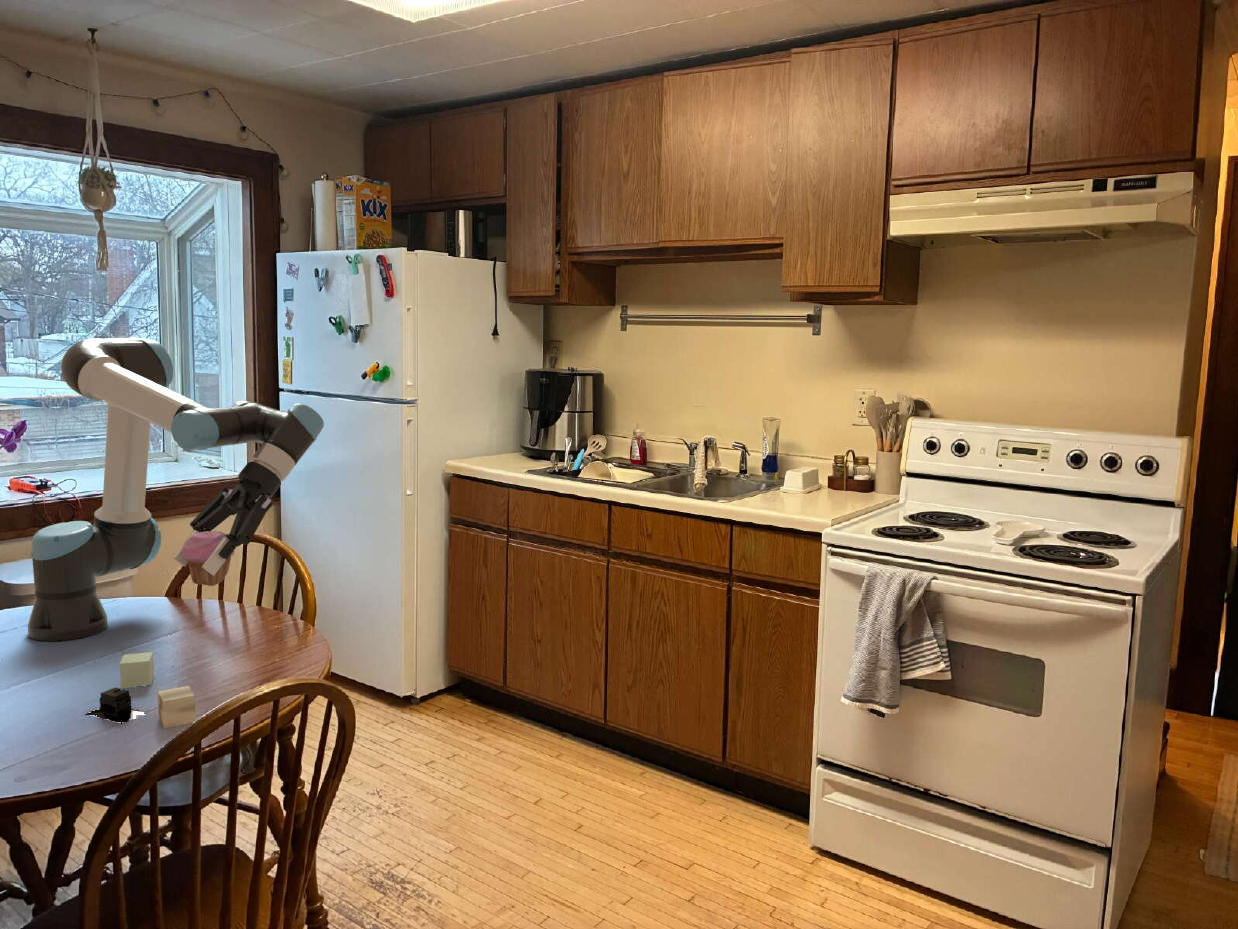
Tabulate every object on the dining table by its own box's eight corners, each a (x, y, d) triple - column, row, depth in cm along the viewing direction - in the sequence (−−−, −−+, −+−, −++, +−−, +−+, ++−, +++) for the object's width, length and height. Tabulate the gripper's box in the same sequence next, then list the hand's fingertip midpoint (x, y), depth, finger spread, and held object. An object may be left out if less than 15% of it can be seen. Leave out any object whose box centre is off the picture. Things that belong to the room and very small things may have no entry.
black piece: (158, 716, 165) (157, 691, 165) (123, 732, 159) (121, 706, 158) (108, 702, 170) (107, 678, 169) (72, 718, 163) (70, 693, 163)
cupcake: (173, 586, 173) (171, 533, 171) (207, 574, 181) (205, 524, 180) (213, 591, 170) (210, 538, 169) (245, 579, 178) (243, 528, 177)
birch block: (159, 718, 163) (157, 691, 162) (190, 712, 166) (188, 685, 165) (164, 729, 159) (162, 701, 158) (195, 722, 162) (194, 695, 161)
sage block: (125, 679, 180) (124, 654, 179) (154, 676, 181) (152, 652, 181) (121, 689, 175) (119, 663, 174) (150, 686, 177) (149, 661, 176)
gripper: (312, 490, 180) (241, 588, 169) (245, 477, 192) (175, 567, 181) (288, 466, 174) (212, 565, 164) (221, 454, 187) (146, 546, 176)
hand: (193, 566), depth 173 cm, fingers closed on cupcake, 9 cm apart
